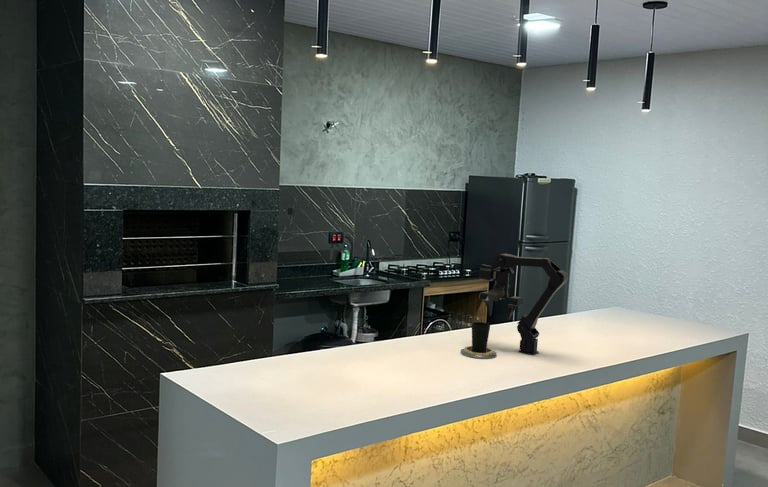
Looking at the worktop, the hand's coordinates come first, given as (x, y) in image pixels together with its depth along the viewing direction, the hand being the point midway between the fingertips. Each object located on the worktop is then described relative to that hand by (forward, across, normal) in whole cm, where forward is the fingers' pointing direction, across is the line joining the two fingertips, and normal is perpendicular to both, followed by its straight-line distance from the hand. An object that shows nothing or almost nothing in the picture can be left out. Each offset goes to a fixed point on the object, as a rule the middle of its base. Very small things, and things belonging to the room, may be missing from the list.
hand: (499, 317), depth 301 cm
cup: (+12, +1, -18) cm, 22 cm away
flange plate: (+13, +1, -18) cm, 22 cm away
